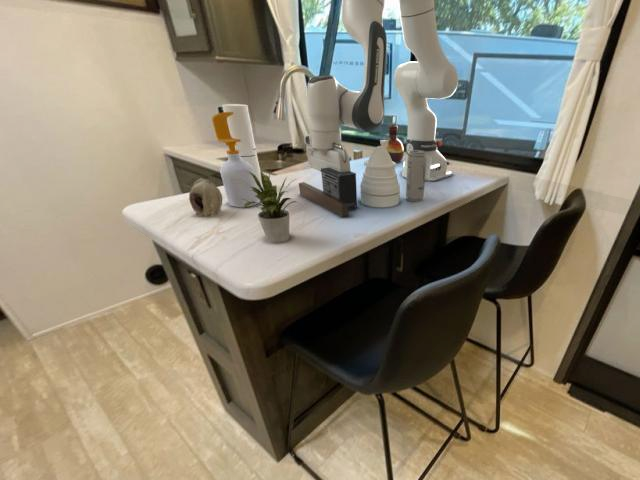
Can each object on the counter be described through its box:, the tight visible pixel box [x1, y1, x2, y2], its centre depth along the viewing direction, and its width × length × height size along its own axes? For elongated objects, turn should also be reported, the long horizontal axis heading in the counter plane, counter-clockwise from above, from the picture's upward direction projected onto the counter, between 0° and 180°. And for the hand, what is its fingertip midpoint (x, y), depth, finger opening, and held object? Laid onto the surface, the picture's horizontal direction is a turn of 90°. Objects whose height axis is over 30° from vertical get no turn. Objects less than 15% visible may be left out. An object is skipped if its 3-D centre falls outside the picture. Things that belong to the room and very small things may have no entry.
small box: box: [320, 168, 358, 211], centre depth 98 cm, size 11×6×10 cm, turn 40°
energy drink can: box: [405, 150, 427, 202], centre depth 106 cm, size 6×6×15 cm
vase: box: [385, 124, 405, 164], centre depth 155 cm, size 11×11×15 cm
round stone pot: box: [188, 177, 223, 217], centre depth 90 cm, size 9×8×10 cm
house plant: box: [234, 169, 299, 244], centre depth 75 cm, size 14×14×16 cm
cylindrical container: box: [221, 103, 264, 190], centre depth 107 cm, size 7×7×25 cm
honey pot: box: [359, 139, 401, 208], centre depth 102 cm, size 13×13×18 cm
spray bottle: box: [211, 111, 261, 208], centre depth 93 cm, size 9×9×25 cm
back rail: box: [298, 181, 349, 218], centre depth 100 cm, size 2×26×4 cm, turn 41°
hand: (330, 187), depth 105 cm, fingers closed
